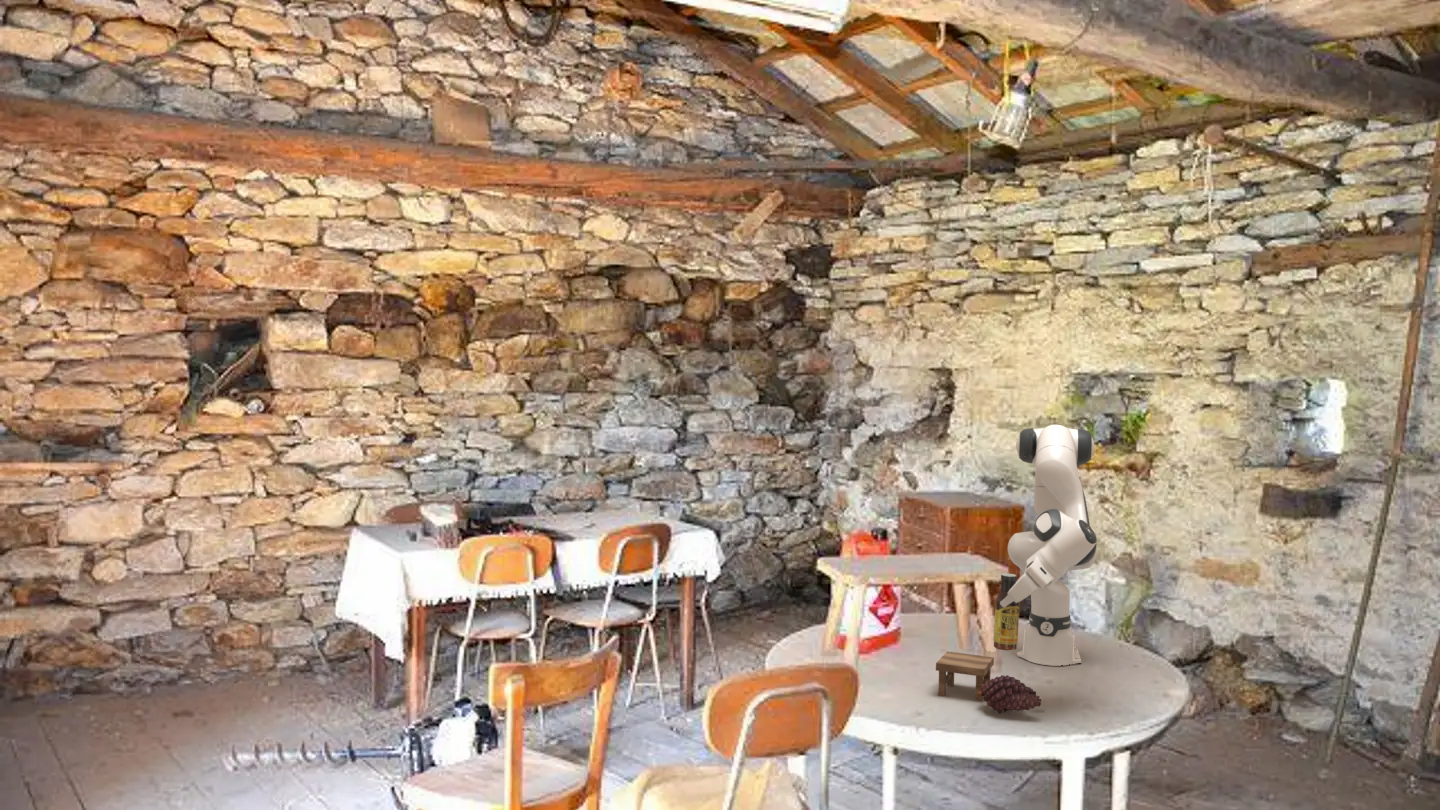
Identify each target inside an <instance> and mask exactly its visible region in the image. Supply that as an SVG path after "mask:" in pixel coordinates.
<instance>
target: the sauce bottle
mask: <svg viewBox="0 0 1440 810" xmlns="http://www.w3.org/2000/svg"><path fill="white" fill-rule="evenodd" d="M1000 580H1001V582H1000V583H1001V584H1000V592H999V593H998V594H997V595H996V596H997V597H996V599H995V609H994V625H993V627H994V628H993V647H994V648H995V649H997V650H1002V651H1013V650H1016V649H1017V646H1018V641H1019V640H1018V639H1019V621H1020V620H1019V619H1020V617H1019V616H1020V602H1018V603H1015V602H1014V601H1013V602H1012V603H1010V604H1008V605H1007V606H1006V607H1005V608H1004V607H1002V606H1001V605H1000V602H1001V601H1002V600H1003V599H1004V598H1005V597H1006V596H1007V595H1008V591H1009V590H1010V589H1011V588H1012V587H1013V585H1014V584H1015V583H1016V582H1017V580H1018V579H1017V574H1016V573H1015V574H1014V573H1005V572H1004V573H1001V574H1000Z"/></svg>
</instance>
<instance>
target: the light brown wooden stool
mask: <svg viewBox="0 0 1440 810" xmlns="http://www.w3.org/2000/svg"><path fill="white" fill-rule="evenodd" d="M994 657H995V656H987V655H980V654H979V655H978V654H971V653H962V652H954V651H946V652H945V653H944V654H943V655H942V656H941V657H940V659H939V660H937V661H936V662H935V671H938V694H937V695H939V696H940V697H946V695H947V692H946V691H947V688H946V687H947V686H948V687H953V686H955V674H961V675H967V676H974V677H975V701H976V702H980V703H981V702H983V701H984V699H983V696H978V695H977V693H978V692H979V691H980V688H981V687H980V686H979V685H984V684H986V683H988V682H990V680H991V669H992V667H993V666H994V665H995V664H994V663H995V658H994Z"/></svg>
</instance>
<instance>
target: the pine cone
mask: <svg viewBox="0 0 1440 810" xmlns="http://www.w3.org/2000/svg"><path fill="white" fill-rule="evenodd" d="M979 686H980V687H981V688H980V691H979V692H978V693H977V695H978V696H983V702H985V703H986V706H987V707H988V708H990V709H991V710H992V711H994V712H996V711H997V713H998V714H1001V713H1006V712H1014V711H1015V712H1023V711H1029V710H1031V709H1035V707H1041V705H1042V698H1040V696H1039V695H1037V691H1035V690H1034V689H1033V688H1031V687H1029V686H1026V684H1025V683H1024V682H1021V680H1020V679H1017V678H1015V677H1014V676H1010V675H1000V676H996V677H994V678H990V682H988V683H986V684H984V685H979Z"/></svg>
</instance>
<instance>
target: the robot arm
mask: <svg viewBox="0 0 1440 810" xmlns="http://www.w3.org/2000/svg"><path fill="white" fill-rule="evenodd" d="M1015 449H1016V453H1017V455H1018V456H1019V457H1018V458H1019V459H1020V460H1021V461H1022V462H1024V463H1028V464H1035V473H1034V474H1035V475H1034V487H1033V488H1034V490H1033V491H1034V492H1033V493H1034V495H1033V509H1034V512H1035V514H1036V515H1037V518H1035V521H1034V523H1033V531H1031V530H1028V531H1022V532H1016V533H1013V535H1012V536H1011V537H1010V539H1009V541H1008V543H1007V554H1008V557H1009V558H1010V561H1011V562H1012V563H1013V565H1015V566H1016V567H1018V568H1019V569H1020V570H1021V571H1022V573H1023V574H1022V575H1021V576H1019V578H1018V579H1017V580H1016V583H1015V584H1014V585H1013V587H1012V588H1011V589H1010V590H1009V591H1008V595H1007V596H1006V597H1005V598H1004V599H1003V600H1002V601H1001V602H1000V605H1001V606H1002V607H1004V608H1005V607H1006V606H1007V605H1008V604H1010V603H1012V602H1013V601H1014V602H1015V603H1020V602H1022V601H1023V600H1025V599H1026V598H1028V597H1029V596H1030V599H1031V601H1030V603H1031V604H1030V605H1031V606H1030V607H1031V610H1030V612H1029V616H1028V619H1029V620H1028V623H1029V625H1028V627H1026V628H1025V630H1023V631H1024V632H1023V643H1022V649H1021V650H1018V652H1017V653H1016V656H1017V657H1019V658H1022V659H1024V660H1027V661H1028V662H1030V663H1034V664H1038V665H1044V666H1053V667H1054V666H1055V667H1056V666H1058V667H1060V666H1061V665H1063V666H1069V664H1070V665H1076V664H1075V663H1081V664H1082V659H1081V656H1080V652H1079V649H1078V648H1077V647H1076V645H1075V634H1074V633H1073V632H1072V630H1071V626H1072V625H1071V624H1072V623H1071V622H1072V621H1071V620H1072V619H1071V614H1070V596H1071V595H1070V590H1069V588H1068V586H1067V585H1066V584H1065V583H1063V582H1061V581H1060V579H1061V578H1062V577H1063V576H1064V575H1066V573H1067V571H1068V570H1069V571H1076V570H1086V569H1090V568H1091V567H1092V566H1094V563H1095V561H1096V560H1097V556H1098V548H1097V542H1098V541H1097V535H1096V533H1095V531H1094V530H1093V528H1092V526H1091V524H1090V519H1089V512H1088V506H1087V500H1086V495H1085V492H1084V489H1083V486H1082V483H1081V479H1080V476H1079V475H1080V474H1079V471H1078V468H1080V466H1082V465H1085V464H1088V463H1089V462H1090V461H1091V460H1092V457H1093V455H1094V453H1095V442H1094V439H1093V435H1092V433H1091V432H1090V431H1089V430H1087V429H1083V428H1077V429H1076V428H1070V427H1069V428H1068V427H1066V426H1065V425H1061V424H1050V425H1047V426H1045V427H1042V428H1041V427H1039V428H1033V427H1029V428H1028V427H1027V428H1025V429H1023V430H1021V431H1020V432H1019V435H1018V437H1017V439H1016V445H1015ZM1061 667H1062V666H1061Z"/></svg>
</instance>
